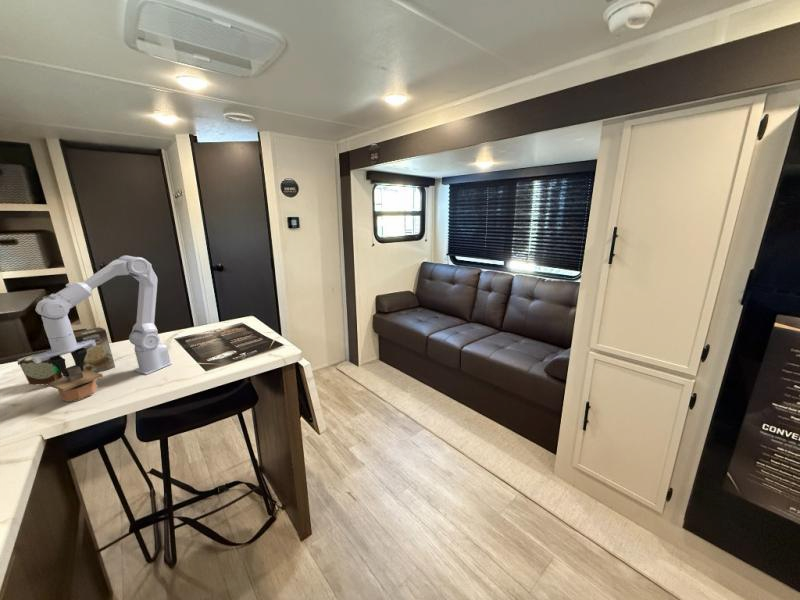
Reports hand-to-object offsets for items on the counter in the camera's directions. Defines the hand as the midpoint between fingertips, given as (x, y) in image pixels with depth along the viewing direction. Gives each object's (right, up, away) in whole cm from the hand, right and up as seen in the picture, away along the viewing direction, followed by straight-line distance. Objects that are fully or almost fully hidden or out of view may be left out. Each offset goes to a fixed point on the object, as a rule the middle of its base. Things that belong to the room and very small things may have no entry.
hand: (73, 373), depth 104 cm
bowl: (0, -8, +2) cm, 8 cm away
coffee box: (-10, -3, +19) cm, 22 cm away
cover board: (0, -3, +1) cm, 3 cm away
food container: (-20, -5, +12) cm, 24 cm away
